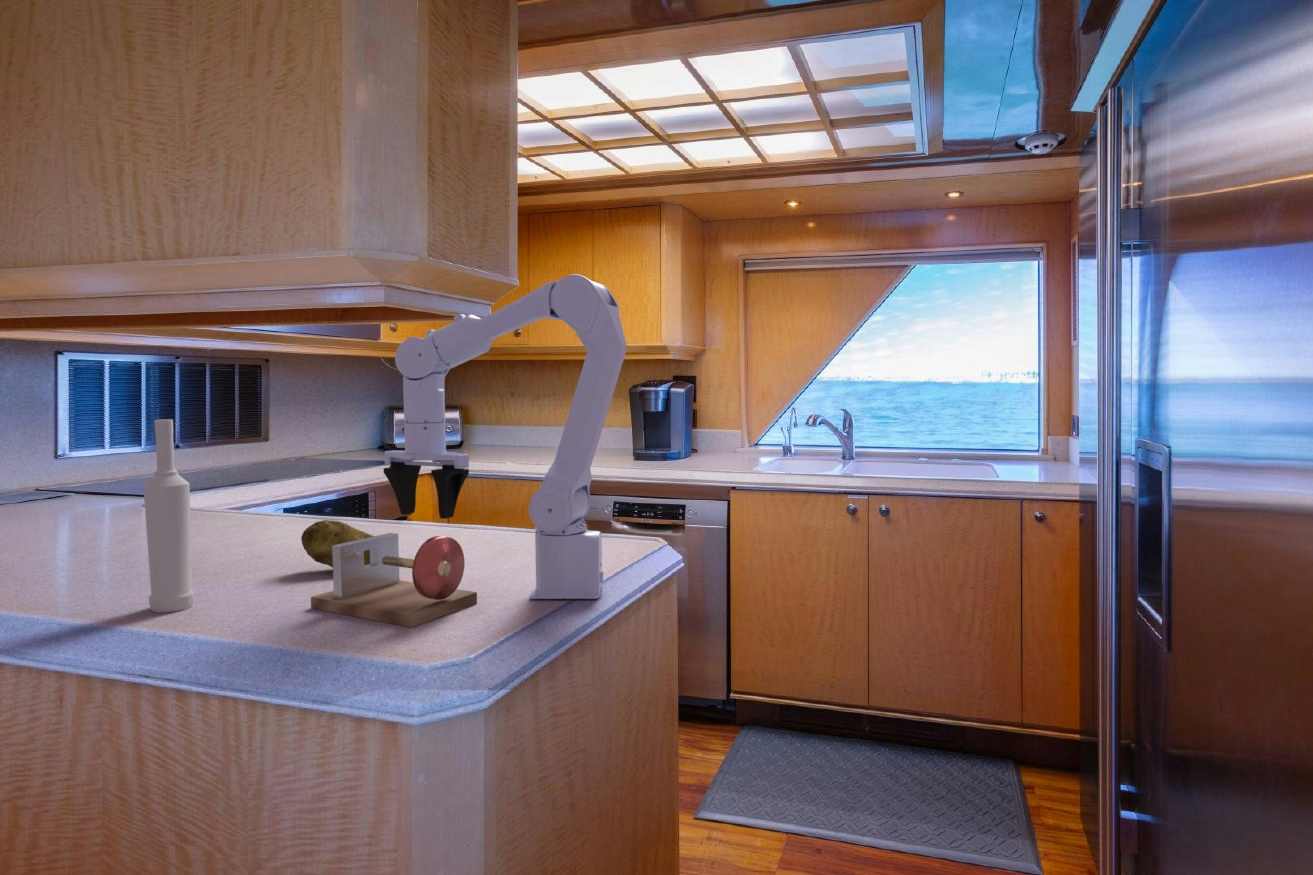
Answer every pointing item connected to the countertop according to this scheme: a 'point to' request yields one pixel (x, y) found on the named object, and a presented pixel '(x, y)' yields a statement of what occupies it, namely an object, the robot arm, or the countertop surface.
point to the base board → (395, 604)
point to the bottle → (168, 529)
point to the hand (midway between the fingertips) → (427, 515)
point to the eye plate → (359, 577)
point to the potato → (330, 540)
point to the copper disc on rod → (434, 567)
